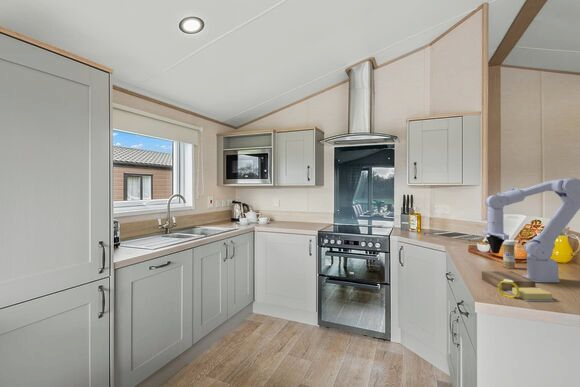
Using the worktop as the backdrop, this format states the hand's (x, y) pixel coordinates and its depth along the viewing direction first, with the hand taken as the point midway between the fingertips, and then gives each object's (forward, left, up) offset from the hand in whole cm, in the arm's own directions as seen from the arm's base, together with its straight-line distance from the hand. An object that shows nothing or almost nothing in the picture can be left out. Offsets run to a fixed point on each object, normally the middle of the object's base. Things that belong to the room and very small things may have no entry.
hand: (495, 253), depth 123 cm
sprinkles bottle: (-14, -14, -11) cm, 23 cm away
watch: (+10, +23, -11) cm, 27 cm away
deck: (+2, +11, -10) cm, 15 cm away
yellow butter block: (+2, +24, -8) cm, 25 cm away
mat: (+2, +23, -10) cm, 25 cm away
